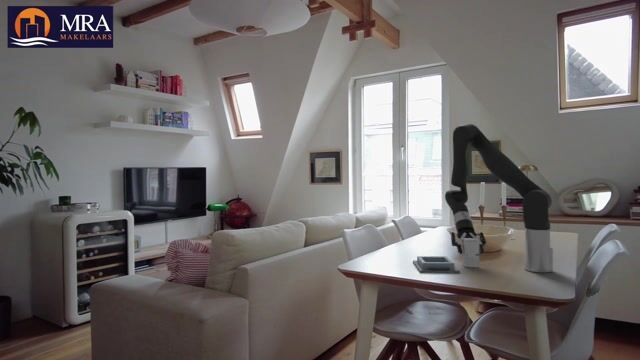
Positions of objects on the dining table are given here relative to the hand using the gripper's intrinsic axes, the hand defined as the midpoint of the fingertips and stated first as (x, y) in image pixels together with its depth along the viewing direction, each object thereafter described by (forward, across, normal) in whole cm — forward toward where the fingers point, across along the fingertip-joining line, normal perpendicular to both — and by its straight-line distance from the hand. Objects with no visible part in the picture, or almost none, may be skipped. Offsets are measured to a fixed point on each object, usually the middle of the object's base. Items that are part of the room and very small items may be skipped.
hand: (471, 253), depth 162 cm
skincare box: (+4, 0, +5) cm, 6 cm away
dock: (+6, -16, +3) cm, 17 cm away
